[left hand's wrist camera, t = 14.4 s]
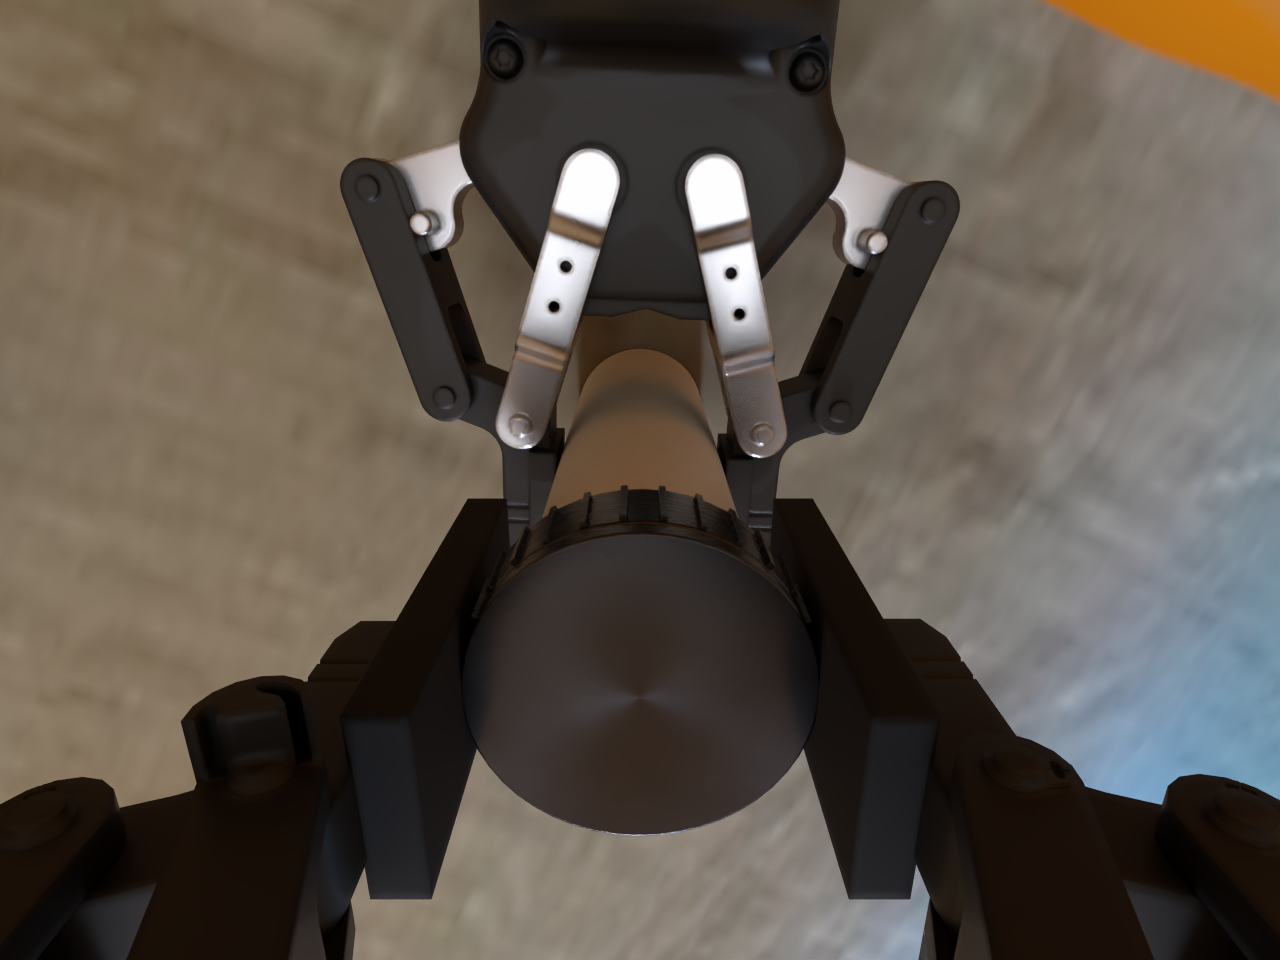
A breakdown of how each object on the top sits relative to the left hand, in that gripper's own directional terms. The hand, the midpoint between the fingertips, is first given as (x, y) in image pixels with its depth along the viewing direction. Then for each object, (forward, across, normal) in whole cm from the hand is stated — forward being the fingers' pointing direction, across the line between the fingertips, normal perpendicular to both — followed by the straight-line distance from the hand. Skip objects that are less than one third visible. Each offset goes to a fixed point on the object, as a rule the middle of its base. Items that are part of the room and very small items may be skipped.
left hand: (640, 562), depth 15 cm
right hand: (+5, 0, -3) cm, 6 cm away
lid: (-4, 0, 0) cm, 4 cm away
